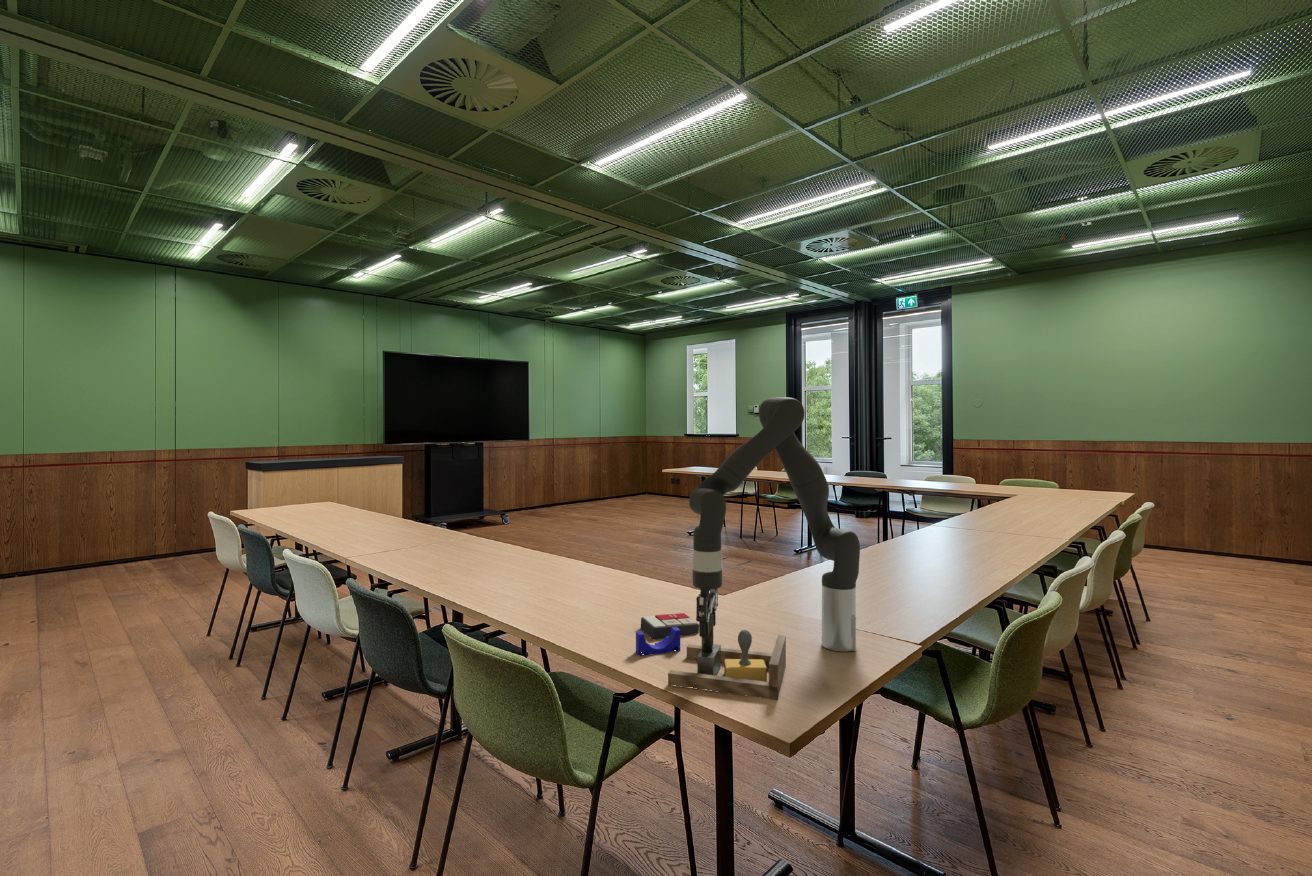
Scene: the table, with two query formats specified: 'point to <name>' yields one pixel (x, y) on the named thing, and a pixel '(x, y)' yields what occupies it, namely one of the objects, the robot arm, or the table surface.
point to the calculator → (668, 625)
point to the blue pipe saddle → (663, 646)
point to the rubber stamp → (745, 662)
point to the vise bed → (736, 685)
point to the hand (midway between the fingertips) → (707, 631)
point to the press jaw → (709, 653)
